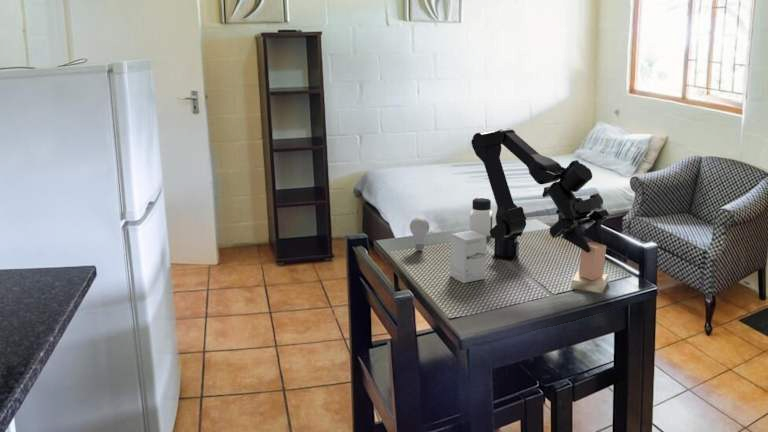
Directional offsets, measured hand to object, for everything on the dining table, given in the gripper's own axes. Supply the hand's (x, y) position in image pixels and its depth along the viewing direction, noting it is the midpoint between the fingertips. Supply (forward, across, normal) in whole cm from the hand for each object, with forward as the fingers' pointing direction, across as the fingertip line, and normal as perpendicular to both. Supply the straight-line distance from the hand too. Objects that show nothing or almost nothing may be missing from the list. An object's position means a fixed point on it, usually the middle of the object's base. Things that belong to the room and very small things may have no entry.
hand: (596, 249), depth 187 cm
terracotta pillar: (+5, 0, +6) cm, 8 cm away
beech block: (+7, 0, +9) cm, 11 cm away
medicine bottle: (-31, +11, +47) cm, 57 cm away
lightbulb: (-30, -17, +45) cm, 57 cm away
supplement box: (-11, -22, +26) cm, 36 cm away
